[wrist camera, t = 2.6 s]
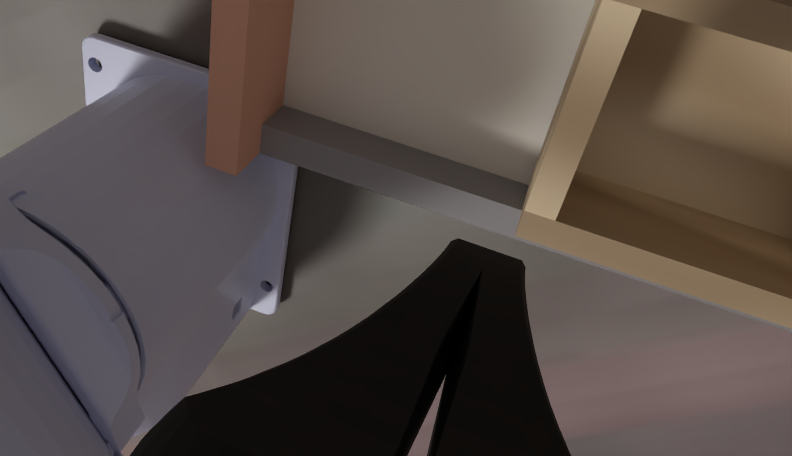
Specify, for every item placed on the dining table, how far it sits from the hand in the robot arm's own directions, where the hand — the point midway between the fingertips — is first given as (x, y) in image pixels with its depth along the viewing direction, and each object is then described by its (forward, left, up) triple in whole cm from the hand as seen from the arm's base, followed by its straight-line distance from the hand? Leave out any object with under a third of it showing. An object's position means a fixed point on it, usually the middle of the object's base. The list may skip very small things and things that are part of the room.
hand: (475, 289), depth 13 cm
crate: (+2, -5, -8) cm, 10 cm away
